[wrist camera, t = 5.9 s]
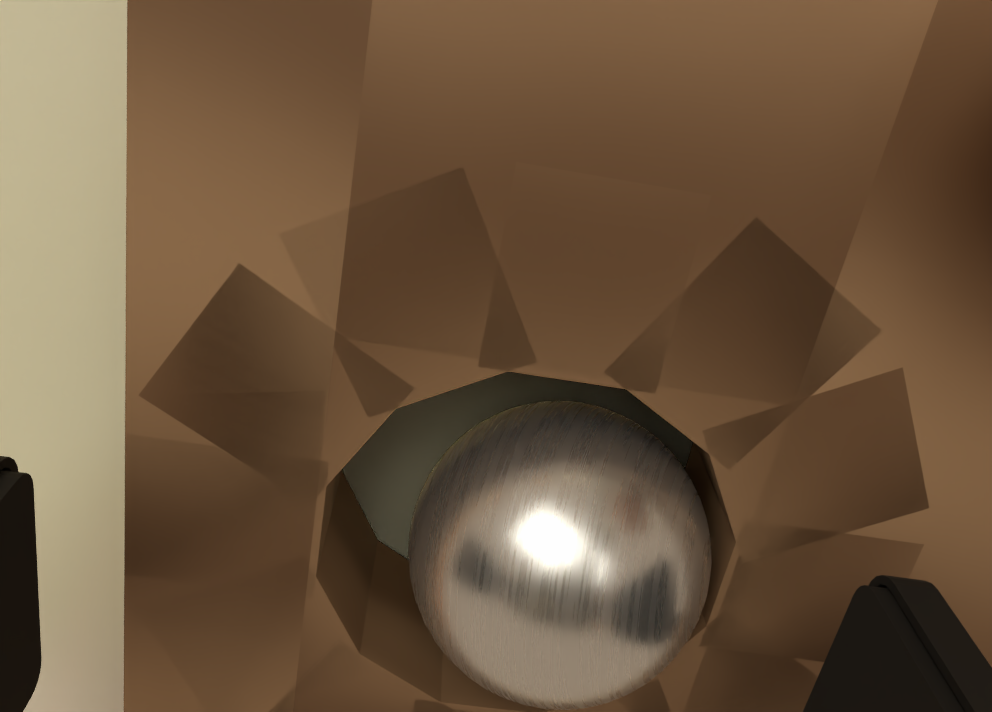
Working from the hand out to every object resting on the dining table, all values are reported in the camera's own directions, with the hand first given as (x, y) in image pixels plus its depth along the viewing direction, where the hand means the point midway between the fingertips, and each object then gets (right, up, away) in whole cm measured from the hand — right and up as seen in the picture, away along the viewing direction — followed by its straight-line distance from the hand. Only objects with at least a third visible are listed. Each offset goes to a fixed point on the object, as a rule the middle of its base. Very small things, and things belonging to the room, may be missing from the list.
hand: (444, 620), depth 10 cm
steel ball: (+1, 0, +2) cm, 2 cm away
